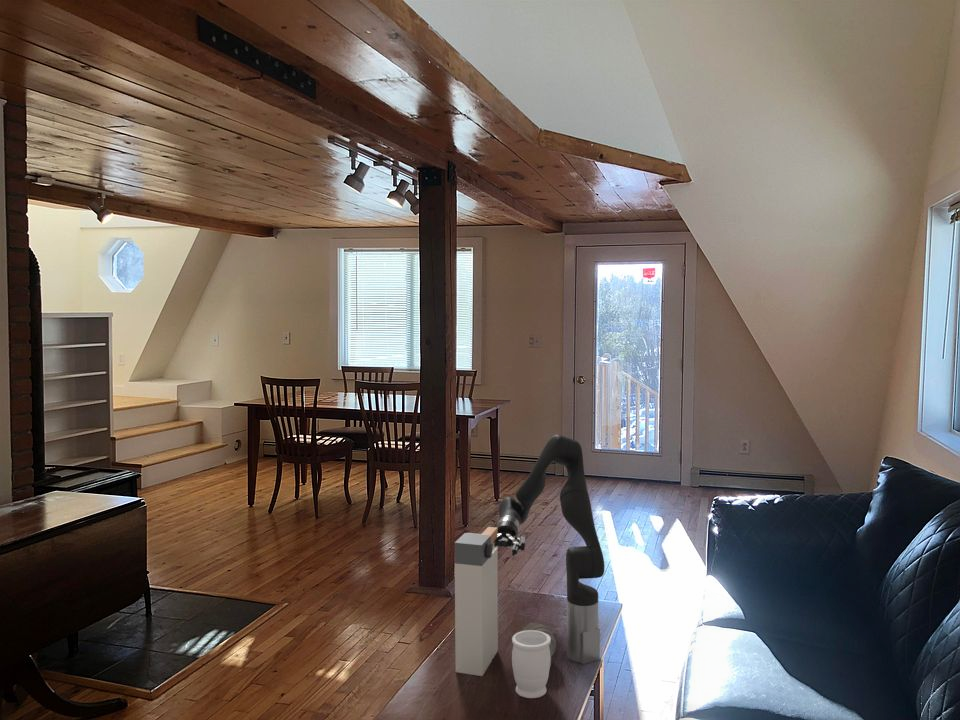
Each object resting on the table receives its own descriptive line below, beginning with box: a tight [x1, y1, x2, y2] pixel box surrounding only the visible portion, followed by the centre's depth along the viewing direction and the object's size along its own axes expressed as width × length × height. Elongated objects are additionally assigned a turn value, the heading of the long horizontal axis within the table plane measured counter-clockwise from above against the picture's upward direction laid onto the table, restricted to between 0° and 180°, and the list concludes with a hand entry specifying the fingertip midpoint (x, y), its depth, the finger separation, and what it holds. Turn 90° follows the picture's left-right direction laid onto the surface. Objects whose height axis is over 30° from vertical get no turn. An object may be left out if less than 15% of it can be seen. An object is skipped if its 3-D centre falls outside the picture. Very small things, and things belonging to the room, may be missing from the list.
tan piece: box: [469, 526, 498, 544], centre depth 233 cm, size 16×8×5 cm, turn 163°
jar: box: [511, 630, 552, 699], centre depth 210 cm, size 11×10×15 cm
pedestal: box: [454, 532, 499, 677], centre depth 226 cm, size 16×9×38 cm, turn 163°
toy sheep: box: [520, 622, 557, 668], centre depth 226 cm, size 11×17×11 cm, turn 24°
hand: (499, 552), depth 241 cm, fingers open, 8 cm apart
